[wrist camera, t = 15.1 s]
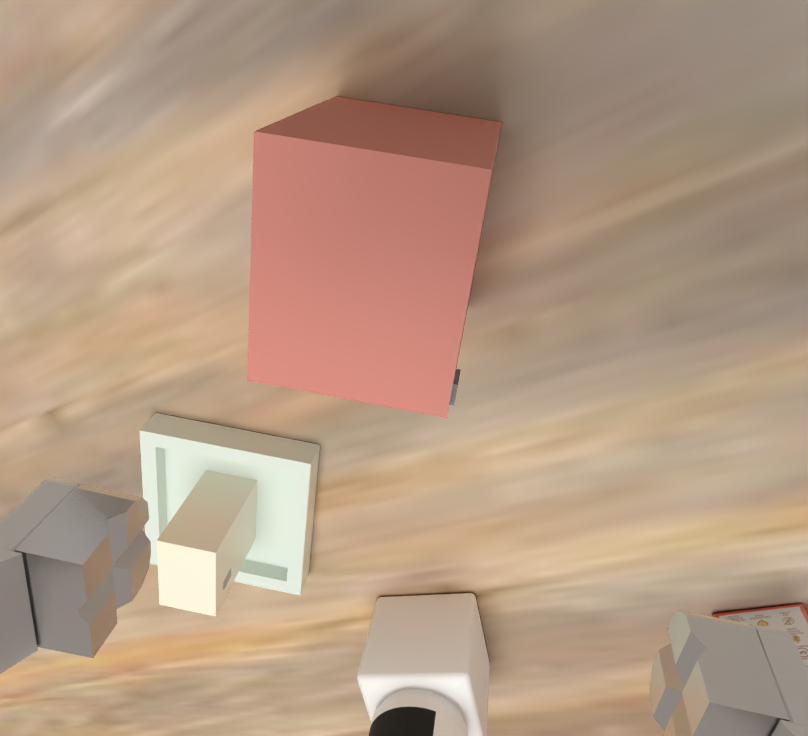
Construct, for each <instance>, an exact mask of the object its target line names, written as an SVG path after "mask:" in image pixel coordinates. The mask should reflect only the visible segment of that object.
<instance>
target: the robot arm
mask: <svg viewBox="0 0 808 736" xmlns="http://www.w3.org/2000/svg"><path fill="white" fill-rule="evenodd" d="M148 520H149V510H148V502H147V501H146V500H144V499H143V498H141V497H137V496H133V495H128V494H124V493H120V492H116V491H111V490H107V489H103V488H99V487H94V486H90V485H86V484H83V485H82V484H78V483H74V482H70V481H66V480H62V479H58V478H51V479H48V480H45V481H44V482H42V483H41V484H40V485H39V486H38V487H37V488H36V489H35V490H34V491H33V492H32V493H31V494H30V495H29V496H28V497H27V498H26V499H24V500H23V501H22V502H21V503H20V504H19V505H18V506H17V507H16V508H15V509H14V510H13V511H12V512H11V513H10V514H9V515H8V516H7V517H5V518H4V519H3V520H2V521H1V522H0V674H1V673H2V672H4V671H6V670H7V669H9V668H10V667H12V666H13V665H15V664H17V663H18V662H20V661H21V660H23V659H25V658H26V657H28V656H29V655H31V654H32V653H34V652H36V651H37V650H38V648H37V647H41V648H46V649H51V650H56V651H61V652H66V653H71V654H76V655H81V656H86V657H91V658H94V656H95V655H96V653H97V652H98V650H99V649H100V647H101V646H102V644H103V643H104V642H105V640H106V639H107V637H108V636H109V634H110V633H111V631H112V630H113V628H114V627H115V625H116V624H117V615H116V609H117V608H119V607H121V606H123V605H125V604H127V603H129V602H131V601H132V600H133V599H134V597H135V596H136V594H137V593H138V591H139V590H140V588H141V587H142V584H143V582H144V579H145V576H146V574H147V571H148V569H149V563H150V556H151V541H150V540H149V539H148V537H147V536H146V535H145V533H144V532H143V531H142V528H143V527H144V525H145V524H146V523H147V521H148ZM668 632H669V636H670V641H671V644H669V645H667V646H665V647H664V648H662V649H660V650H659V651H658V654H657V656H656V659H655V662H654V664H653V668H652V675H651V682H650V701H651V707H652V714H653V717H654V718H655V720H656V721H657V722H658V723H659V725H660V726H661V727H662V728H663V730H664V733H663V735H662V736H808V671H807V669H806V667H805V664H804V662H803V660H802V658H801V655H800V653H799V651H798V648H797V646H796V644H795V641H794V639H793V637H792V636H791V635H790V634H789V633H788V632H787V631H784V630H779V629H774V628H768V627H763V626H758V625H753V624H749V625H748V624H745V623H740V622H735V621H730V620H725V619H721V618H716V617H711V616H706V615H701V614H696V613H691V612H686V611H681V610H679V611H678V612H677V613H676V614H675V615H674V616H673V618H672V621H671V623H670V625H669V627H668Z"/></svg>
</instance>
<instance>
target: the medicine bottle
mask: <svg viewBox="0 0 808 736" xmlns="http://www.w3.org/2000/svg"><path fill="white" fill-rule="evenodd" d="M489 674H490V663H489V658H488V653H487V649H486V644H485V639H484V634H483V630H482V625H481V620H480V616H479V611H478V606H477V601H476V597H475V595H474V594H472V593H461V594H439V595H417V596H395V597H379V598H378V599H377V600H376V604H375V608H374V612H373V616H372V620H371V624H370V628H369V632H368V636H367V639H366V643H365V647H364V651H363V655H362V659H361V663H360V667H359V671H358V675H357V680H358V683H359V686H360V689H361V692H362V696H363V699H364V702H365V705H366V708H367V711H368V714H369V717H370V720H371V728H370V732H369V736H486V731H487V712H488V693H489Z"/></svg>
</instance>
